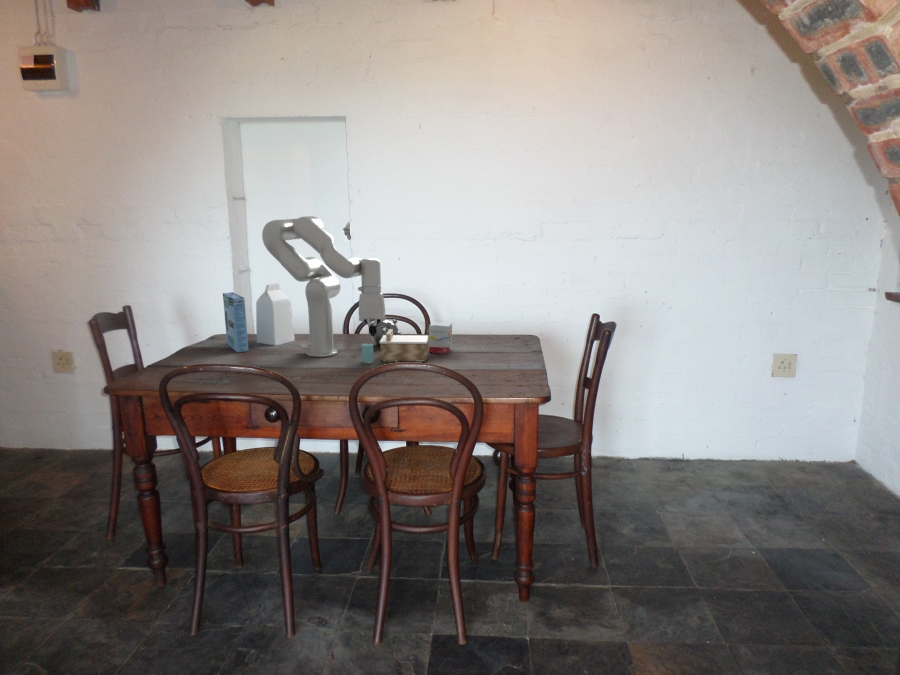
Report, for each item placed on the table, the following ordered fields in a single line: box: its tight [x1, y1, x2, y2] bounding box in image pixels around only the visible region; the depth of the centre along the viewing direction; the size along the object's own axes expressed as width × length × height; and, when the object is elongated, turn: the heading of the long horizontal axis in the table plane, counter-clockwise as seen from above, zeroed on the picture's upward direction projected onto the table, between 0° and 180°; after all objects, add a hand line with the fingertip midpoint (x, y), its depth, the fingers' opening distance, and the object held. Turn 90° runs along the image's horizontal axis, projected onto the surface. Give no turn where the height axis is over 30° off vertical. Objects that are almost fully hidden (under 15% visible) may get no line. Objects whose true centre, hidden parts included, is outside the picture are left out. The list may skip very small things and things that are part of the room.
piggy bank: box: [370, 319, 402, 347], centre depth 276 cm, size 11×15×12 cm
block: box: [361, 343, 374, 363], centre depth 248 cm, size 4×4×7 cm
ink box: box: [428, 321, 453, 354], centre depth 266 cm, size 9×9×12 cm
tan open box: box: [379, 340, 429, 363], centre depth 254 cm, size 18×12×7 cm, turn 89°
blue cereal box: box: [222, 291, 249, 353], centre depth 269 cm, size 20×5×23 cm, turn 31°
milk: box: [255, 283, 296, 346], centre depth 282 cm, size 12×12×26 cm
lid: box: [380, 329, 429, 344], centre depth 253 cm, size 19×13×4 cm
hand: (372, 335), depth 253 cm, fingers closed
